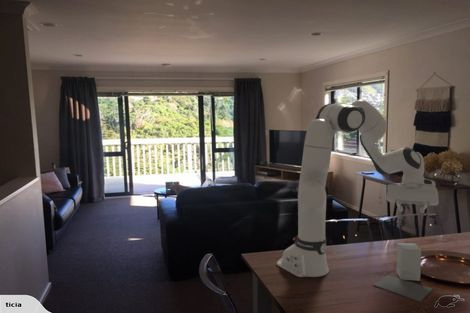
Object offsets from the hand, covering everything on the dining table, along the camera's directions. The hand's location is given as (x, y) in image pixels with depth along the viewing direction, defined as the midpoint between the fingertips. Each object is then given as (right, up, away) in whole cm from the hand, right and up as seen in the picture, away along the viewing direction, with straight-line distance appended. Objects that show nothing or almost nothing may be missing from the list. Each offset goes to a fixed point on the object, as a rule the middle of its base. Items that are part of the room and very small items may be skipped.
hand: (411, 211), depth 153 cm
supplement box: (-5, -25, -8) cm, 27 cm away
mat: (-12, -26, -17) cm, 33 cm away
